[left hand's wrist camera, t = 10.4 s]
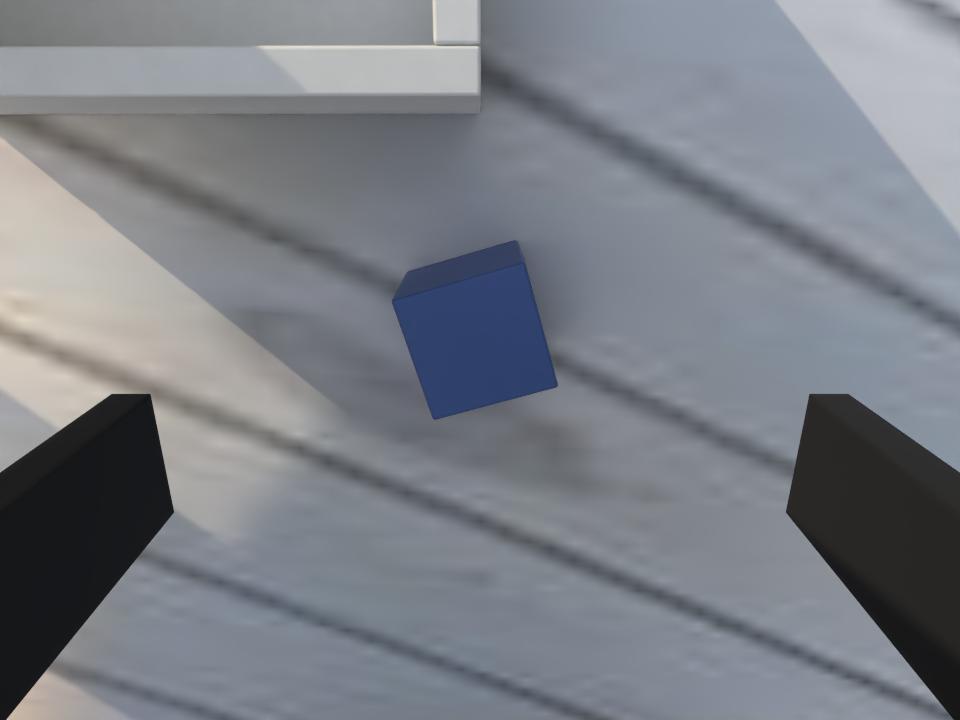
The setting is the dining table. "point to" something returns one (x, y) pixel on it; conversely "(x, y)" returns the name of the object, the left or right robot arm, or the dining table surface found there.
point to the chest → (240, 57)
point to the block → (474, 330)
